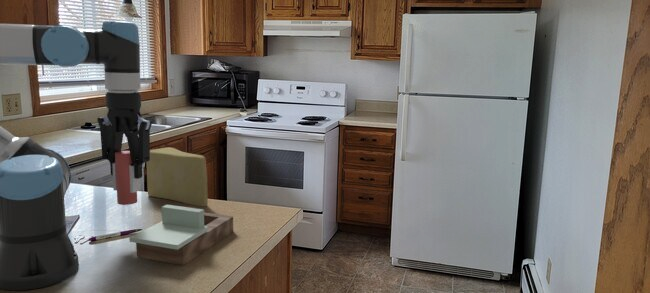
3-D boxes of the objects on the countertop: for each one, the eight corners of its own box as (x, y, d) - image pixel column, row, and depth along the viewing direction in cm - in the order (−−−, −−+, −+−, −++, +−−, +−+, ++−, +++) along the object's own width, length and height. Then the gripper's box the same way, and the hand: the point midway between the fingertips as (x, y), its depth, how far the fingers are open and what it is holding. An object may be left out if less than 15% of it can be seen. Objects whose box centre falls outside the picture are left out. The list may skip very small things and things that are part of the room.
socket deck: (183, 265, 106) (182, 247, 105) (136, 256, 109) (135, 239, 109) (233, 231, 126) (233, 216, 126) (192, 225, 130) (192, 210, 129)
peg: (129, 205, 115) (126, 155, 112) (113, 203, 116) (110, 153, 113) (141, 200, 119) (139, 151, 116) (125, 198, 120) (123, 150, 118)
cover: (177, 249, 103) (176, 226, 102) (129, 241, 107) (128, 219, 106) (208, 230, 114) (207, 210, 113) (164, 224, 118) (163, 204, 117)
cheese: (218, 203, 150) (217, 154, 147) (193, 210, 142) (191, 160, 139) (172, 190, 162) (170, 145, 159) (146, 196, 154) (144, 149, 152)
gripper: (165, 92, 113) (167, 190, 118) (104, 88, 119) (108, 182, 123) (144, 94, 106) (147, 198, 111) (80, 90, 112) (85, 189, 116)
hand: (127, 189), depth 117 cm, fingers closed on peg, 4 cm apart
